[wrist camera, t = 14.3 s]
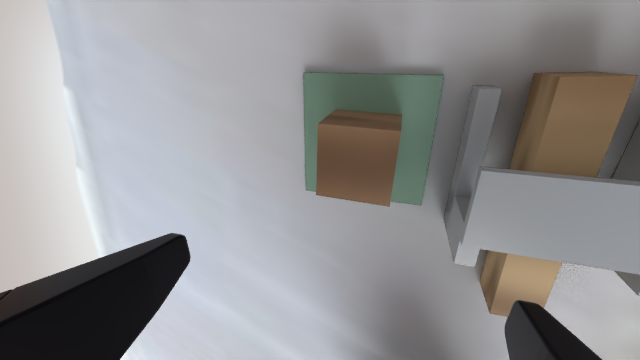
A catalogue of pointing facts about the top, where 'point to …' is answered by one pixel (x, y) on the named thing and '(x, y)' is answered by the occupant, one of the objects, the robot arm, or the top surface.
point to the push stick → (555, 164)
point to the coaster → (379, 97)
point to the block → (358, 155)
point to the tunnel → (542, 206)
